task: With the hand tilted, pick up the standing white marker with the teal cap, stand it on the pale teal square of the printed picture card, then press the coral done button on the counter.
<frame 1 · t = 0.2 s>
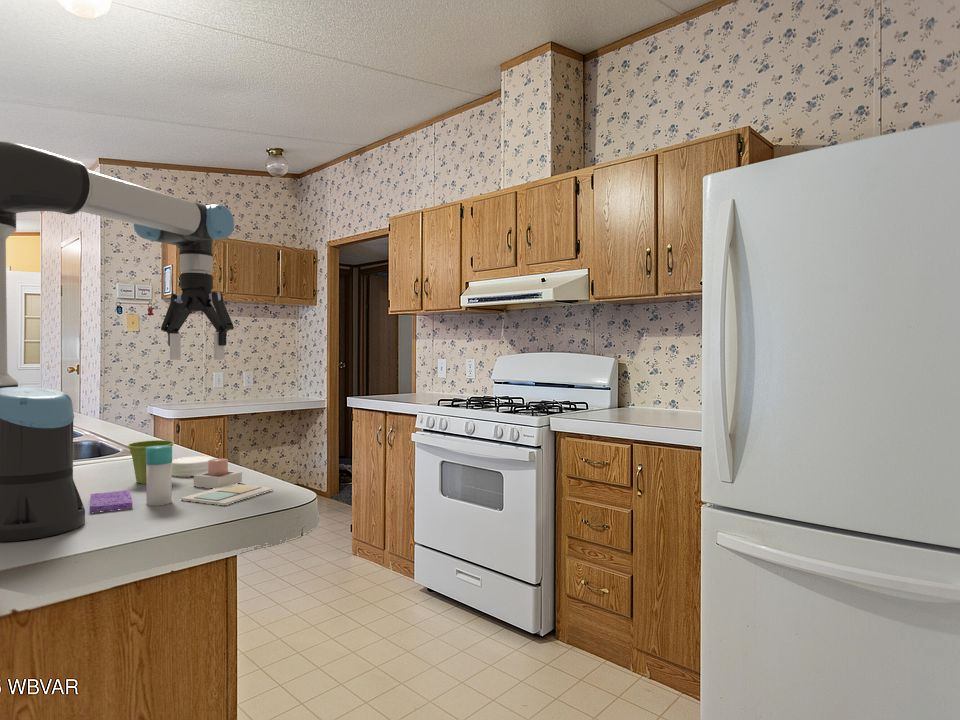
hand: (197, 359, 154), 27 cm above the countertop, tool pointing down, fingers open, 13 cm apart
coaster: (192, 474, 152), on the countertop
plant pot: (151, 482, 142), on the countertop
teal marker: (159, 503, 123), on the countertop
done button: (218, 468, 139), point 4 cm above the countertop, slide at 0.0 cm
sponges: (111, 507, 122), on the countertop
button housing: (218, 484, 139), on the countertop
picture card: (228, 495, 129), on the countertop
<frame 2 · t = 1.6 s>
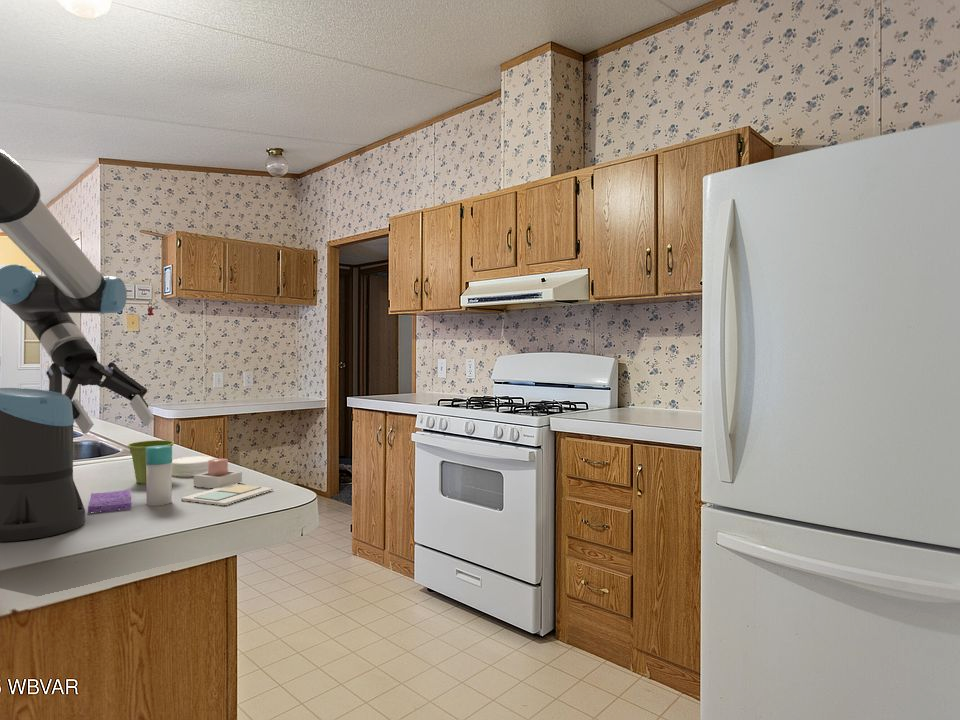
hand: (120, 425, 126), 15 cm above the countertop, tool tilted 45°, fingers open, 13 cm apart
nothing on the countertop moved.
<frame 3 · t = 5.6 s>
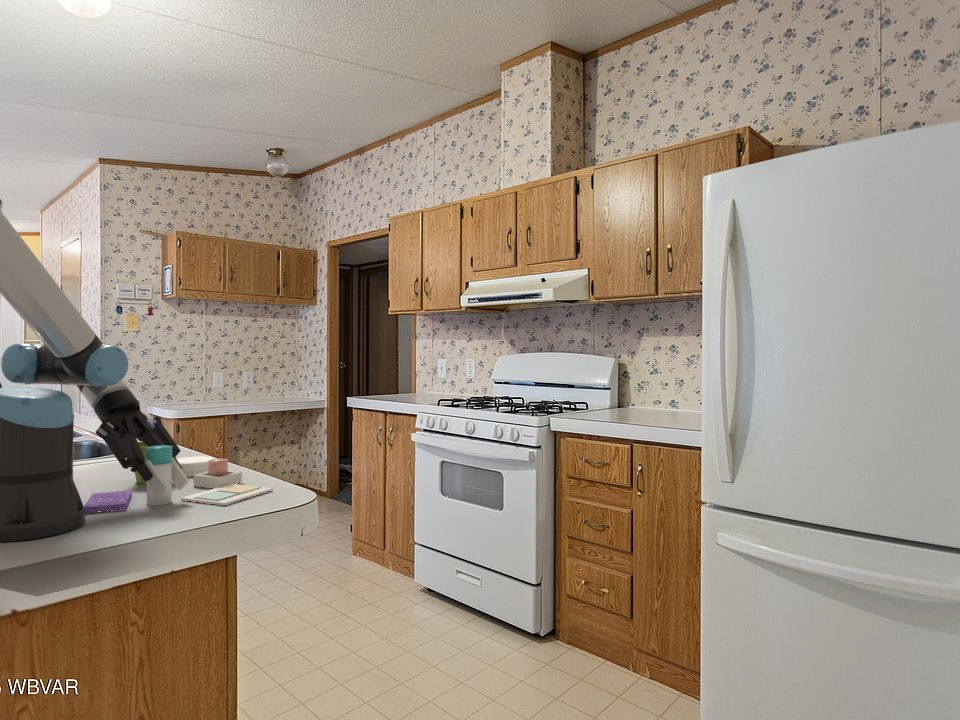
hand: (173, 488, 121), 3 cm above the countertop, tool tilted 45°, fingers closed on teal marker, 4 cm apart
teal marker: (159, 503, 123), on the countertop, touching gripper
everything else where it was.
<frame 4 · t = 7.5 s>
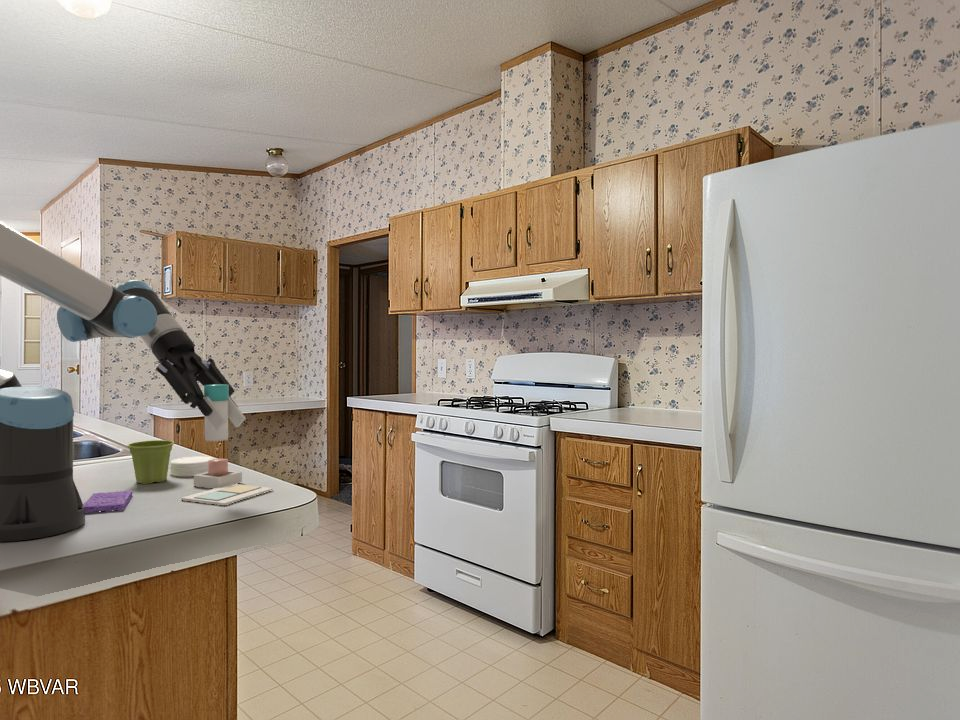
hand: (231, 424, 125), 15 cm above the countertop, tool tilted 45°, fingers closed on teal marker, 4 cm apart
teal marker: (216, 439, 126), point 12 cm above the countertop, touching gripper
everything else where it was.
when the fingers open (5 cm above the countertop, at t = 9.6 s): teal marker stays where it is, resting on picture card.
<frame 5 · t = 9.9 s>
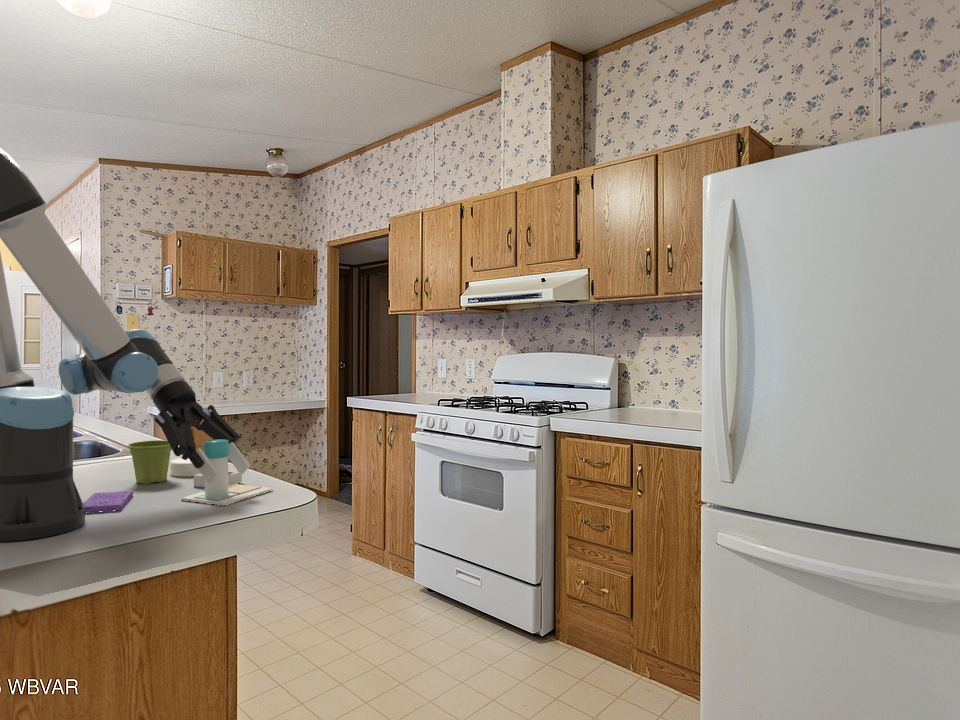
hand: (230, 474, 125), 5 cm above the countertop, tool tilted 45°, fingers open, 8 cm apart
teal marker: (216, 495, 126), point 1 cm above the countertop, touching picture card
everything else where it was.
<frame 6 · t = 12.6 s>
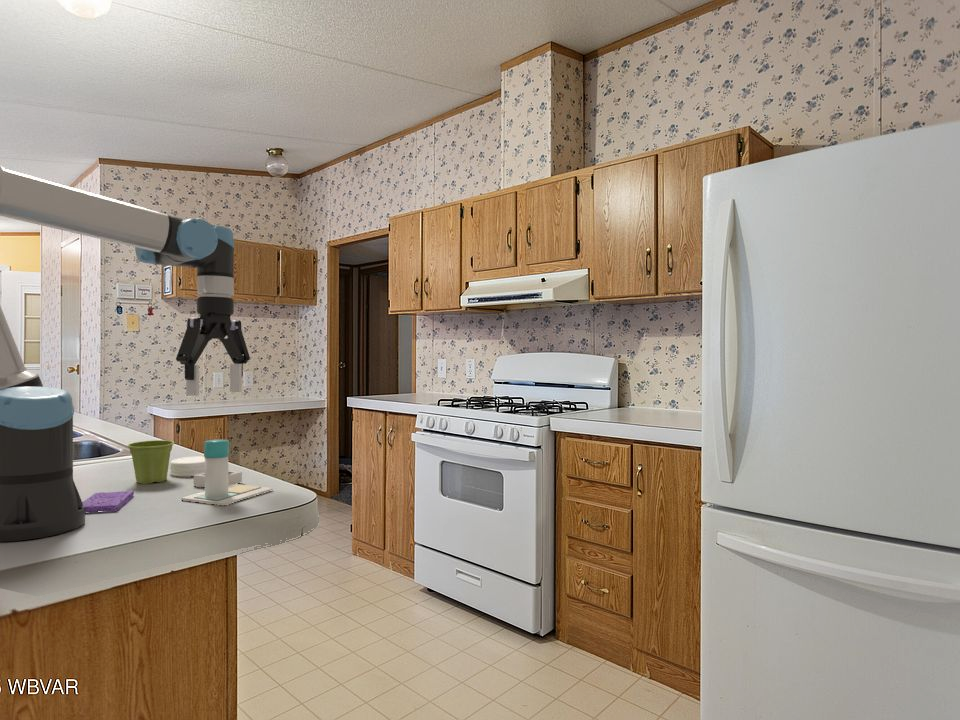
hand: (215, 393, 139), 20 cm above the countertop, tool pointing down, fingers open, 12 cm apart
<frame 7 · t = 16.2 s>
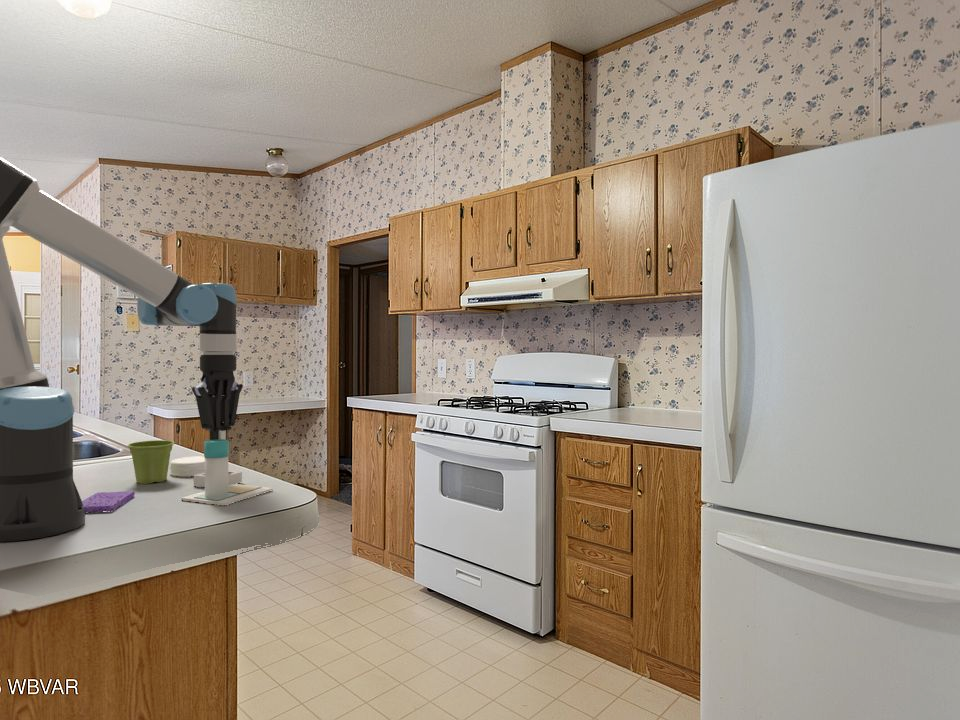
hand: (218, 459, 139), 6 cm above the countertop, tool pointing down, fingers closed
done button: (218, 468, 139), point 4 cm above the countertop, slide at 0.1 cm, touching gripper
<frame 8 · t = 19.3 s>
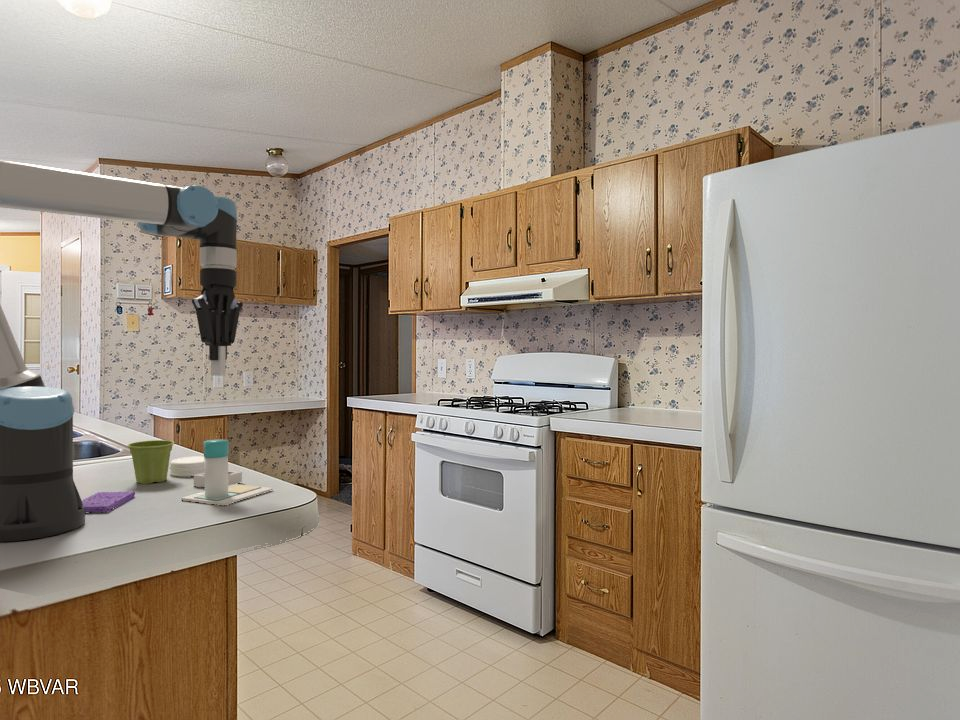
hand: (218, 375, 138), 24 cm above the countertop, tool pointing down, fingers closed
done button: (218, 472, 139), point 3 cm above the countertop, slide at 1.0 cm
at the end: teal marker 0.1 cm from the target spot, point 0.8 cm above the countertop; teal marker tilted 1°; done button slide at 1.0 cm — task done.
